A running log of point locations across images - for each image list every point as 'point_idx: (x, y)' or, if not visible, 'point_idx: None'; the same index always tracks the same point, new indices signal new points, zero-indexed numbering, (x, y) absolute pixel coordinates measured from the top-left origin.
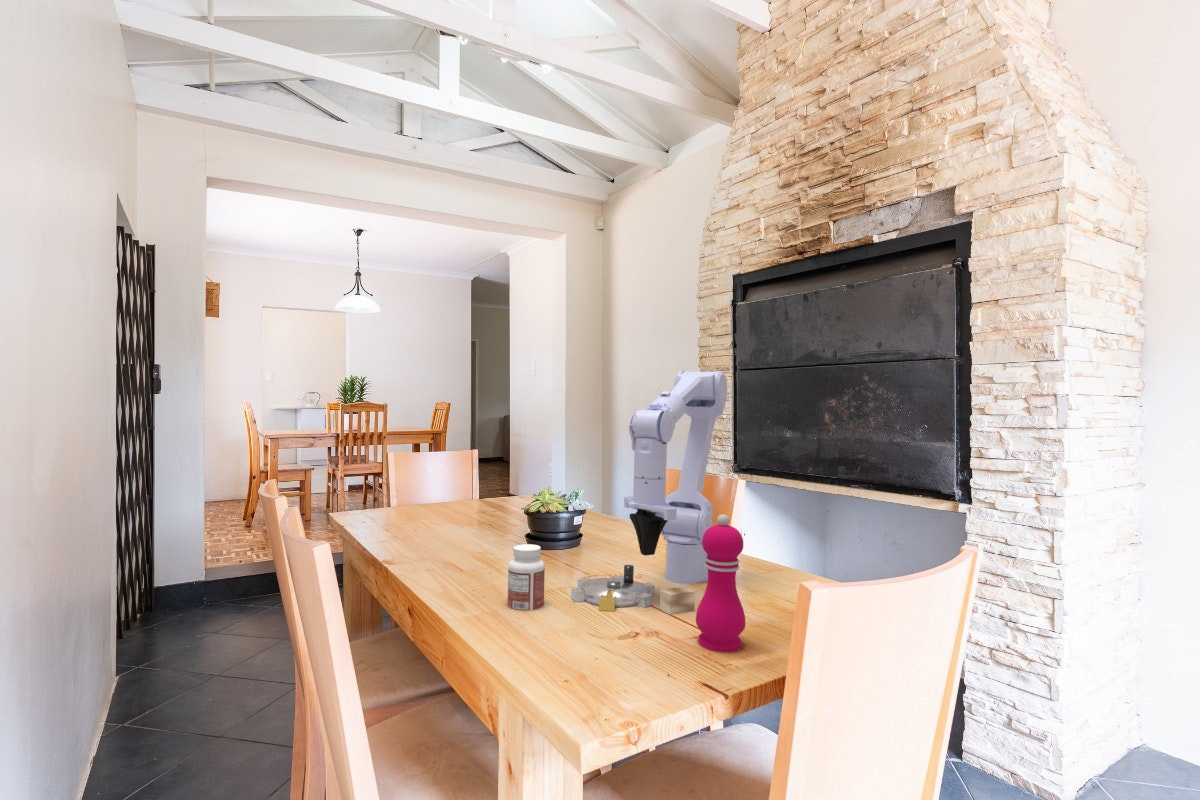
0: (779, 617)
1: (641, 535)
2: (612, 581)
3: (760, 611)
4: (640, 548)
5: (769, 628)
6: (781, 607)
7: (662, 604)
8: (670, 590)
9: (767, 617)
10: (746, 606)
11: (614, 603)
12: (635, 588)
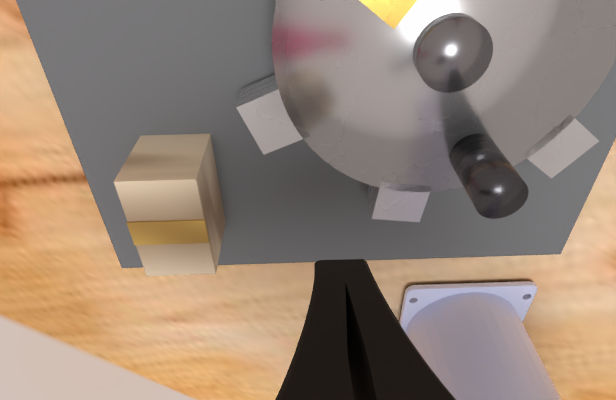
0: (133, 366)
1: (336, 366)
2: (476, 62)
3: (183, 357)
4: (361, 281)
5: (56, 319)
6: (199, 395)
7: (185, 148)
8: (178, 211)
9: (138, 350)
10: (228, 352)
11: None
12: (374, 136)
